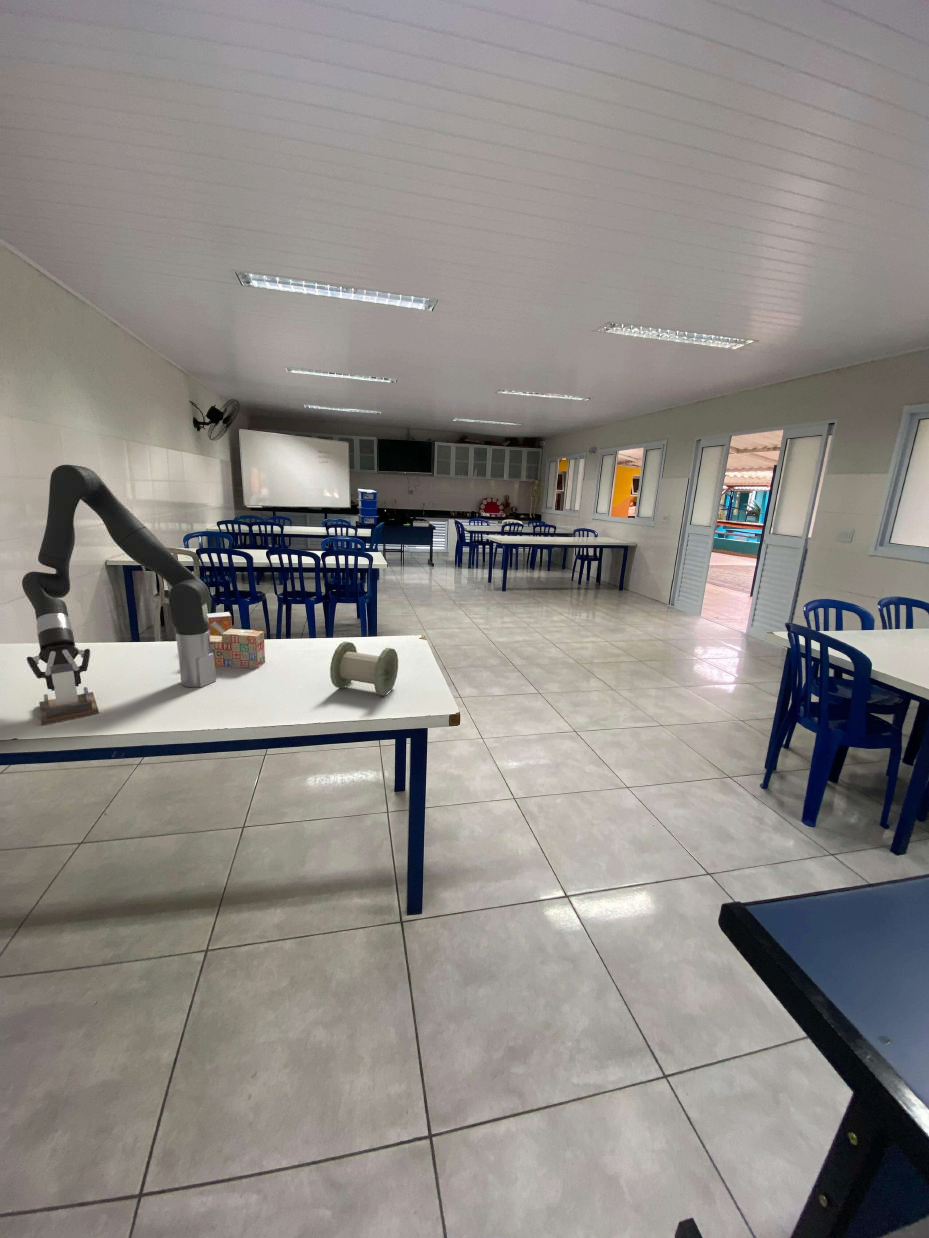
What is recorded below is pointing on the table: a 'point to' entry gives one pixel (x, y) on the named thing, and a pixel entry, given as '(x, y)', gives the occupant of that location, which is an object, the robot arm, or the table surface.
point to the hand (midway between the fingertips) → (65, 687)
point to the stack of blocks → (239, 648)
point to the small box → (219, 623)
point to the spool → (364, 668)
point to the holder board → (67, 708)
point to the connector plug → (64, 683)
